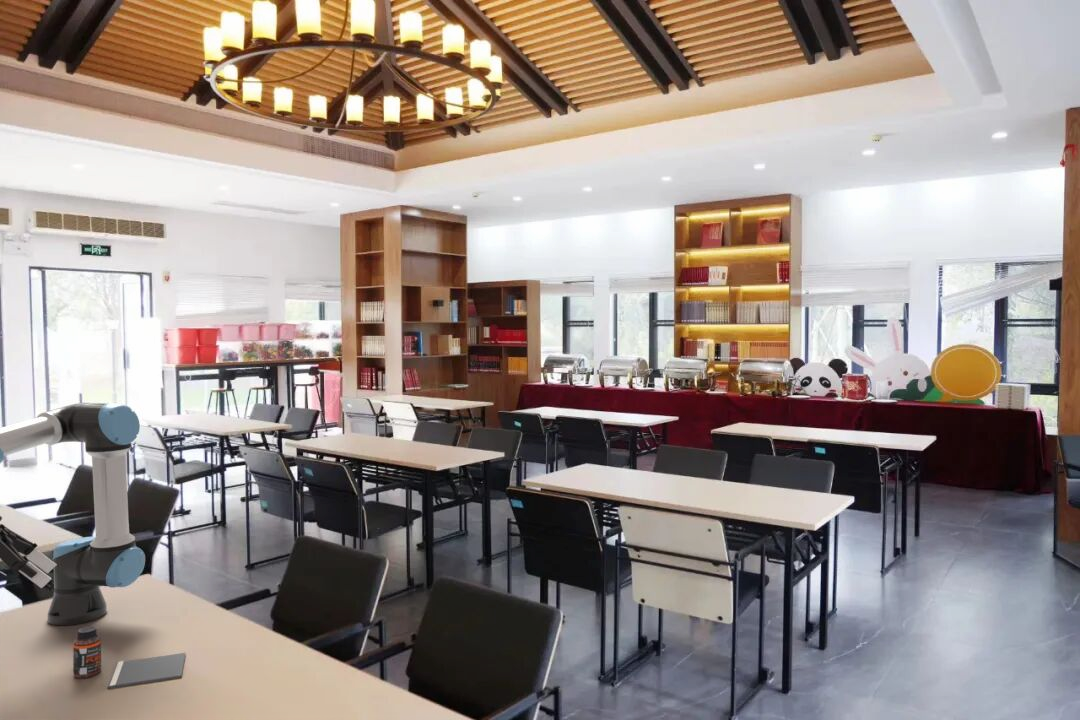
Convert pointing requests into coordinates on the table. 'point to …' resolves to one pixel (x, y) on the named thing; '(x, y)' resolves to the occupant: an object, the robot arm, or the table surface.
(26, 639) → the table surface
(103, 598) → the robot arm
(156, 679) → the grey flat slab
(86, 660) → the supplement bottle
